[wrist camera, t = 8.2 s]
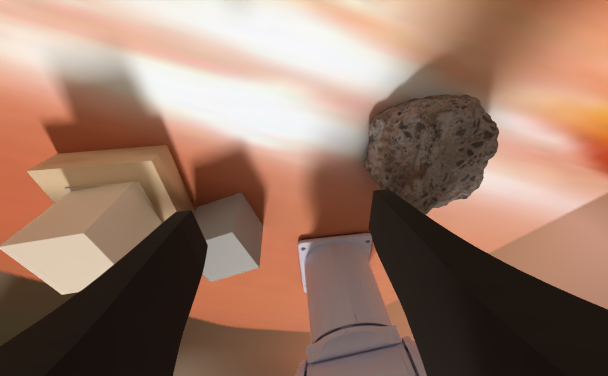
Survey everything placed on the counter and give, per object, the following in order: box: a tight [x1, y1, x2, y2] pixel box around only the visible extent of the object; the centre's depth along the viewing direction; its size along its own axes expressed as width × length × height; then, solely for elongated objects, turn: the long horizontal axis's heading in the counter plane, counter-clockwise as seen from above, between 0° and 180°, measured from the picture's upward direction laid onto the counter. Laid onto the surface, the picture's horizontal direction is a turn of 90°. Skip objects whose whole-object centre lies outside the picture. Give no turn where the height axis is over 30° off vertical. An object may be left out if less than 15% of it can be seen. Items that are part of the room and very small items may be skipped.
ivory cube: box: [0, 181, 162, 294], centre depth 15 cm, size 4×4×5 cm
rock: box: [364, 95, 499, 214], centre depth 18 cm, size 9×11×4 cm
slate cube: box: [194, 192, 263, 282], centre depth 20 cm, size 4×4×5 cm
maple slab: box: [27, 145, 195, 223], centre depth 19 cm, size 8×8×3 cm
